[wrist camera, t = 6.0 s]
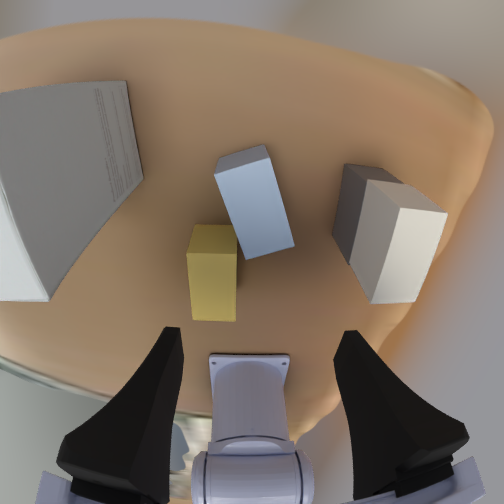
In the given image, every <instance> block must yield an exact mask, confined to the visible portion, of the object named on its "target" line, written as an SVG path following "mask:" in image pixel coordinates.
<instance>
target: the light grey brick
mask: <svg viewBox="0 0 504 504" xmlns="http://www.w3.org/2000/svg"><path fill="white" fill-rule="evenodd" d="M447 215H448V213H447V212H446V211H444V210H443V209H442V208H440V207H439V206H438V205H437V204H435V203H434V202H433V201H431V200H430V199H429V198H428V197H426V196H425V195H424V194H422V193H421V192H419V191H418V190H417V189H415V188H414V187H413V186H411V185H406V184H399V183H392V182H385V181H378V180H370V179H368V180H367V185H366V190H365V195H364V200H363V205H362V210H361V214H360V219H359V223H358V228H357V232H356V236H355V241H354V245H353V249H352V253H351V257H350V261H349V264H350V265H351V267H352V269H353V271H354V273H355V275H356V277H357V279H358V281H359V283H360V285H361V287H362V289H363V291H364V293H365V294H366V296H367V298H368V300H369V303H370V304H385V303H405V302H415V300H416V298H417V296H418V294H419V291H420V289H421V287H422V284H423V282H424V280H425V277H426V275H427V272H428V270H429V267H430V265H431V262H432V259H433V257H434V254H435V251H436V248H437V246H438V243H439V240H440V237H441V234H442V231H443V228H444V225H445V222H446V219H447Z"/></svg>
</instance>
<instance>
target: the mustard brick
mask: <svg viewBox="0 0 504 504" xmlns="http://www.w3.org/2000/svg"><path fill="white" fill-rule="evenodd" d="M186 254H187V266H188V278H189V288H190V298H191V308H192V317H193V320H204V321H235V319H236V267H237V235H236V232H235V230H234V227H233V225H200V224H195V226H194V230H193V233H192V236H191V239H190V243H189V246H188V249H187V253H186Z"/></svg>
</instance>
